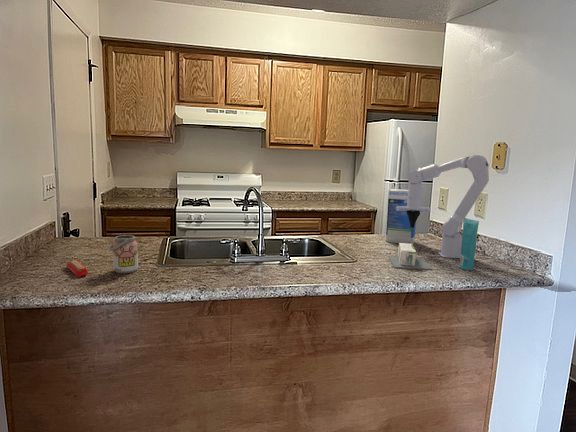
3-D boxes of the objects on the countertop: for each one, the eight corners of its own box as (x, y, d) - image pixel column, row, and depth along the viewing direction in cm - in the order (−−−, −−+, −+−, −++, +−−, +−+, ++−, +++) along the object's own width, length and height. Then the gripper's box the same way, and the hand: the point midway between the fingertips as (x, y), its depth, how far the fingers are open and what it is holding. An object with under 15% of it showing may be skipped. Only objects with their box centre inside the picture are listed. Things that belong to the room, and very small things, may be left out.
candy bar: (65, 267, 144) (65, 259, 143) (77, 266, 146) (76, 258, 146) (77, 279, 132) (77, 270, 131) (89, 277, 134) (89, 268, 134)
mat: (422, 259, 168) (422, 257, 168) (432, 270, 152) (432, 268, 152) (388, 257, 169) (388, 256, 169) (394, 268, 153) (394, 266, 153)
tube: (478, 270, 153) (483, 220, 150) (469, 271, 151) (474, 221, 148) (462, 265, 160) (467, 217, 157) (453, 266, 158) (458, 218, 155)
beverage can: (110, 275, 136) (109, 240, 134) (109, 268, 143) (107, 235, 141) (140, 272, 140) (138, 238, 138) (136, 266, 147) (135, 233, 145)
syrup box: (411, 256, 169) (415, 266, 155) (397, 255, 170) (399, 264, 156) (412, 243, 168) (417, 251, 154) (398, 242, 169) (401, 250, 155)
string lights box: (414, 242, 200) (418, 190, 196) (412, 245, 193) (416, 191, 189) (387, 239, 206) (391, 188, 202) (384, 241, 199) (388, 189, 195)
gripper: (428, 196, 183) (426, 226, 185) (396, 195, 185) (394, 225, 187) (432, 198, 176) (430, 229, 178) (398, 197, 178) (396, 227, 180)
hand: (412, 227), depth 182 cm, fingers closed
